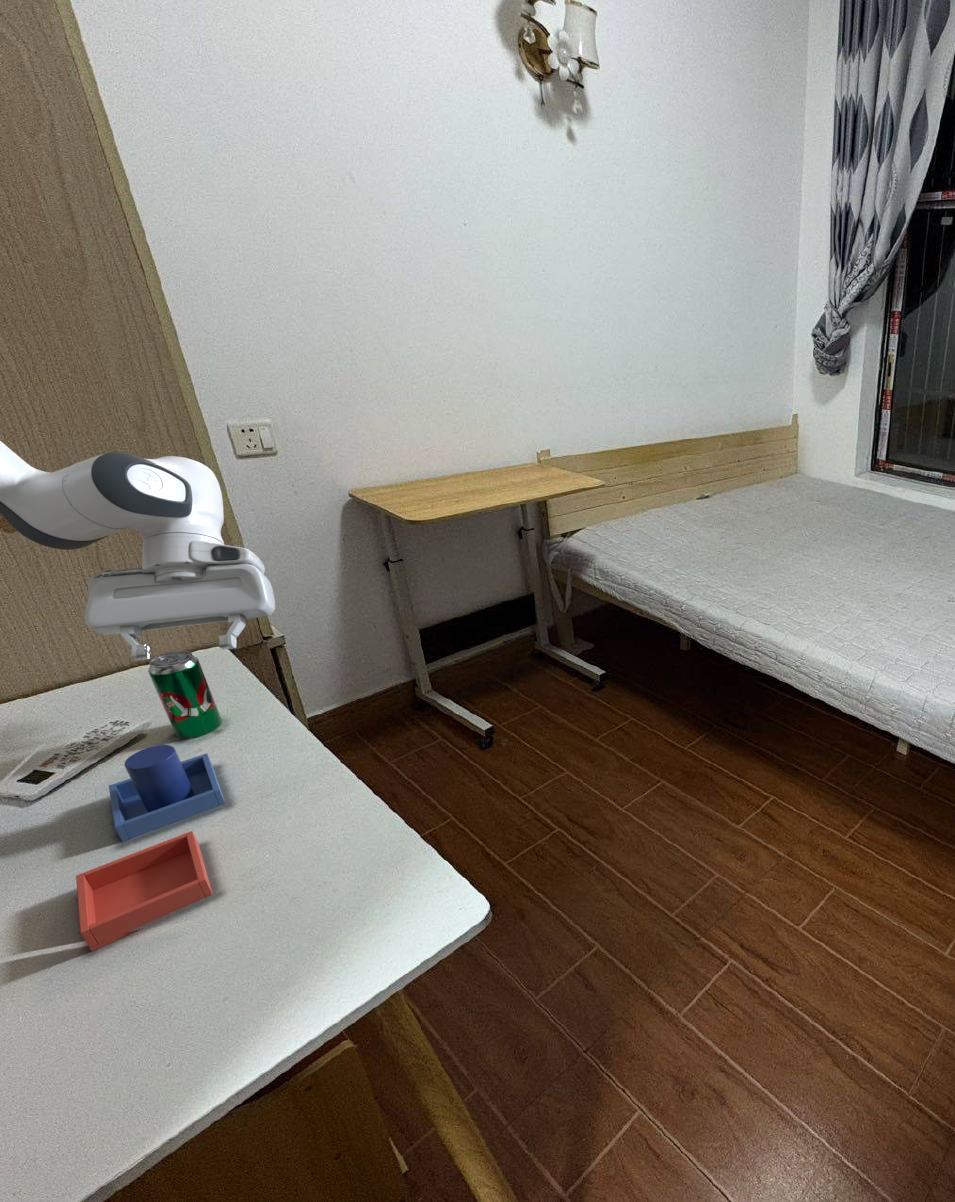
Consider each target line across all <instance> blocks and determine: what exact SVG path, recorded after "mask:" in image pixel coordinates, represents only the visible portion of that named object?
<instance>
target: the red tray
mask: <svg viewBox="0 0 955 1202" xmlns="http://www.w3.org/2000/svg"><path fill="white" fill-rule="evenodd" d="M75 880H76V892H77V906H78V919H79V931H80V933H79V934H80V935H81V937H82V938H83V940H84V941H85V943H86V945H87V946H88V948H89V950H90V951H91V952H94V951H97V950H98V949H101V948H103V947H106V946H107V945H110V944H112V943H114V942H116V941H119V940H121V939H123V938H125V937H128V936H130V935H132V934H135V933H136V932H139V931H140V929H138V928H140V927H143V926H145V925H147V924H149V923H152V922H153V921H156V920H159V919H161V918H163V917H165V916H167V915H169V914H172V913H174V912H176V911H178V910H179V911H180V910H181V909H183V908H185V907H188V906H189V905H192V904H194V903H196V902H199V901H202V900H203V899H206V898H208V897H210V896H213V891H212V887H211V883H210V879H209V876H208V873H207V870H206V865H205V861H204V858H203V855H202V851H201V847H200V844H199V842H198V840H197V838H196V836H195V833H194V831H193V830H191V831H188V832H185V833H183V834H180V835H177V836H175V837H172V838H170V839H168V840H165V841H162V842H158V843H156V844H154V845H152V846H149V847H147V848H144V849H141V850H139V851H136V852H134V853H130V854H129V855H125V856H123V857H120V858H118V859H115V860H112V861H110V862H108V863H105V864H103V865H100V866H97V867H95V868H92V869H90V870H87V871H85V872H82V873H79V874H77V875H75ZM135 929H136V930H135Z"/></svg>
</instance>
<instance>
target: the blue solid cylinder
mask: <svg viewBox="0 0 955 1202" xmlns="http://www.w3.org/2000/svg"><path fill="white" fill-rule="evenodd" d="M181 762H182V761H181V760H180V758H179V755H178V753H177V750H176V749H175V747H174V746H172V745H169V744H158V745H153V746H149V747H146V748H143V749H141V750H138V751H137V752H134V753H133V754H131V755H129V756H128V757H127V759H125V761H124V768H125V770H126V772H127V773H128V776H129V777H130V778H131V780H132V782H133V784H134V786H135V788H136V790H137V792H138V794H139V796H140V798H141V800H142V802H143V804H144V806H145V808H146V810H147V811H148V812H152V811H154V810H157V809H160V808H163V807H166V806H168V805H171V804H174V803H177V802H179V801H182V800H185V799H188V798H191V797H193V796H194V791H193V789H192V787H191V784H190V782H189V780H188V778H187V775H186V773H185V771H184V769H183V766H182V764H181ZM130 778H129V779H130Z"/></svg>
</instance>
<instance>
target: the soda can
mask: <svg viewBox="0 0 955 1202" xmlns="http://www.w3.org/2000/svg"><path fill="white" fill-rule="evenodd" d="M148 664H149V668H148V670H147V672H148V674H149V677H150V679H151V682H152V685H153V686H154V688H155V690H156V694H157V696H158V698H159V700H160V703H161V705H162V707H163V709H164V712H165V714H166V717H167V718H168V720H169V723H170V725H171V727H172V730H173V732H174V734H175V735H174V736H176V737H178V738H180V739H195V738H200V737H203V736H206V735H208V734H211V733H212V732H214V731H216V730H217V729H218V728H220V726H221V725H222V723H223V719H222V716H221V714H220V712H219V709H218V706H217V704H216V701H215V699H214V696H213V693H212V691H211V689H210V686H209V683H208V680H207V679H206V675H205V673H204V671H203V668H202V665H201V663H200V661H199V658H198V657H197V656H195V655H193V653H192V651H189V650H174V651H168V652H164V653H161V654H160V655H156V656H155V657H152V658H151V659H150V661H149V663H148Z"/></svg>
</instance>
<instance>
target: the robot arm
mask: <svg viewBox="0 0 955 1202" xmlns="http://www.w3.org/2000/svg"><path fill="white" fill-rule="evenodd" d="M0 515H1V516H2V517H3V518H4V519H5V520H6V521H7V523H8V524H9V525H10V526H11V527H12V528H13V529H14V530H16V531H17V532H18V533H19V534H20V535H22V536H23V537H25V538H27V539H29V540H30V541H31V542H34V543H36V544H39V545H41V546H45V547H47V548H51V549H55V550H62V551H63V550H68V551H71V550H80V549H84V548H86V547H88V546H90V545H92V544H94V543H96V542H98V541H101V540H102V539H105V538H107V537H108V536H110V535H114V534H117V533H120V532H122V531H125V530H128V529H130V530H133V531H137V532H139V533H141V535H142V543H141V545H142V549H141V550H142V552H141V553H142V554H141V555H142V556H141V566H138V567H127V568H121V569H106V570H102V571H101V573H98V574H96V575H94V576H93V577H92V578H89V581H88V583H87V592H88V593H87V594H88V598H87V602H86V607H85V613H84V624H85V625H86V626H87V627H88V628H89V629H91V630H92V631H94V632H96V633H98V634H100V635H103V636H111V635H119V634H120V637H122V639H123V640H124V641H125V642H126V643H127V644H128V645H129V646H130V647H131V648H130V649H131V654H130V655H131V659H132V660H133V661H137V662H138V661H145V660H146V661H147V660H152V659H153V654H152V652H153V647H151V646H149V645H147V644H146V643H145V644H141V643H140V641H139V640H138V639H141V638H142V637H143V632H146V631H154V630H162V629H171V628H180V627H181V628H182V627H189V626H197V625H207V624H216V623H224V622H228V624H230V627H229V628H228V630H227V631H226V633H225V634H219V635H218V641H219V642H218V647H219V648H220V649H221V650H222V651H224V650H231V649H232V650H233V649H236V648H237V638H238V637H239V636H240V635H241V633H242V632H243V630H244V629H245V627H246V626H247V624H246V620H251V619H260V618H267V617H270V616H272V614H273V613H274V611H275V610H276V601H275V594H274V590H273V589H274V588H273V586H272V583H271V581H270V580H269V579H268V577H267V576H266V575H265V571H266V568H265V565H264V563H263V561H262V560H261V559H260V558H259V557H258V555H256V554H255V553H254V552H253V551H251V550H250V549H248V548H245V547H241V546H235V545H234V546H233V545H228V544H225V541H224V539H223V537H222V534H221V533H222V527H223V525H224V523H225V514H224V501H223V493H222V489H221V486H220V483H219V480H218V478H217V476H216V474H215V473H214V471H213V470H212V469H210V468H209V467H208V466H207V465H206V464H204V463H201V462H199V461H197V460H195V459H192V458H188V457H184V456H176V455H165V456H160V457H157V458H144V457H142V456H139V455H137V454H133V453H129V452H124V451H109V452H106V453H101V454H99V455H95V456H93V457H92V456H91V457H89V458H86V459H84V460H81V461H78V462H75V463H74V464H71V465H70V466H67V467H64V468H61V469H58V470H56V471H53V472H50V471H44V470H40V469H38V468H35V467H33V466H31V464H29V463H28V462H27V461H25V460H24V459H22V457H20V456H19V455H18V454H17V453H16V452H14V451H13V450H12V449H10V448H9V446H7V445H6V444H5V443H4V442H3V441H1V440H0Z"/></svg>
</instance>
